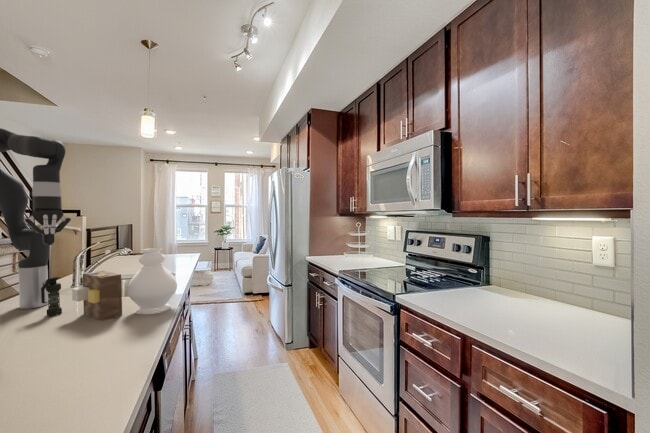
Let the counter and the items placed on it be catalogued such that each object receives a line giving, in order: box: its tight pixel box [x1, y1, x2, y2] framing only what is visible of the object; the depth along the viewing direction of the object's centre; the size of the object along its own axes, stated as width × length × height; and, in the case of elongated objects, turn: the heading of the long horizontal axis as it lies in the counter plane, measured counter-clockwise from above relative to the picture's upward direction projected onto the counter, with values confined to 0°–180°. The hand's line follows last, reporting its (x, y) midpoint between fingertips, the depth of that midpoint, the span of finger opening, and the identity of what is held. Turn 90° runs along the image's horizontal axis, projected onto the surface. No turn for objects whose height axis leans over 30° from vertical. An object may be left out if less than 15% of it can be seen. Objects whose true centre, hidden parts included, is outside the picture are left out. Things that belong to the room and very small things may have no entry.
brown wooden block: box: [82, 270, 123, 322], centre depth 122 cm, size 15×7×16 cm, turn 58°
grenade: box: [41, 276, 63, 317], centre depth 122 cm, size 6×6×15 cm
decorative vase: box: [127, 247, 178, 315], centre depth 128 cm, size 18×18×25 cm
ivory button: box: [71, 286, 90, 303], centre depth 120 cm, size 4×6×4 cm
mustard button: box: [88, 289, 100, 303], centre depth 118 cm, size 4×6×4 cm
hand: (48, 244), depth 109 cm, fingers closed
